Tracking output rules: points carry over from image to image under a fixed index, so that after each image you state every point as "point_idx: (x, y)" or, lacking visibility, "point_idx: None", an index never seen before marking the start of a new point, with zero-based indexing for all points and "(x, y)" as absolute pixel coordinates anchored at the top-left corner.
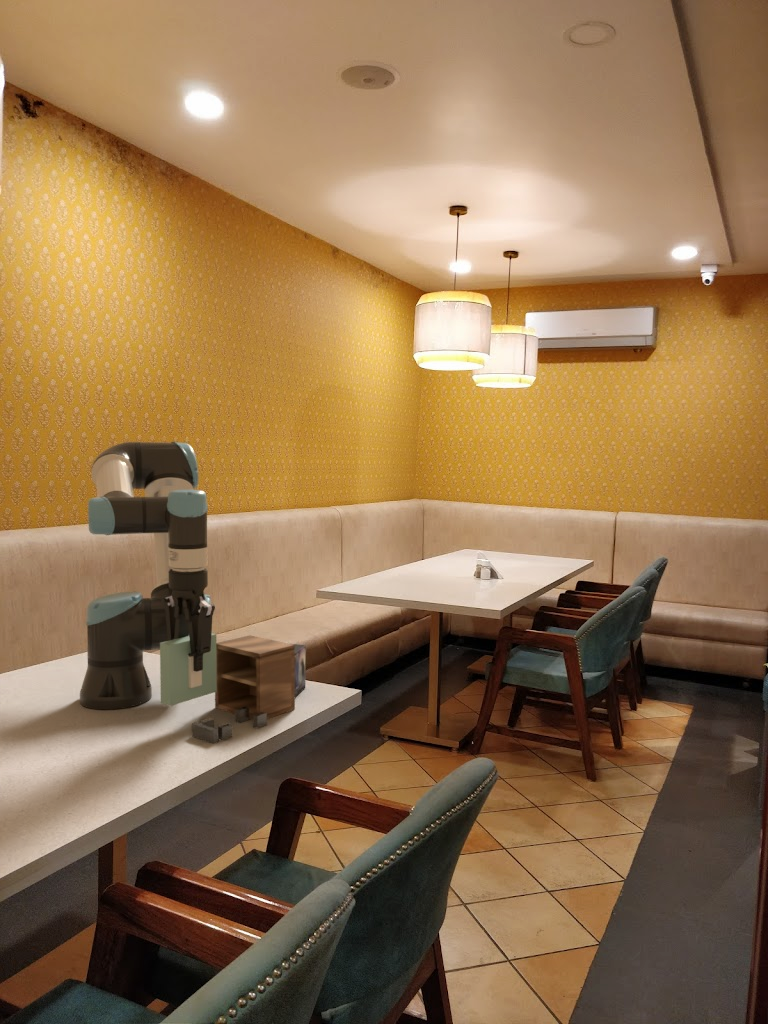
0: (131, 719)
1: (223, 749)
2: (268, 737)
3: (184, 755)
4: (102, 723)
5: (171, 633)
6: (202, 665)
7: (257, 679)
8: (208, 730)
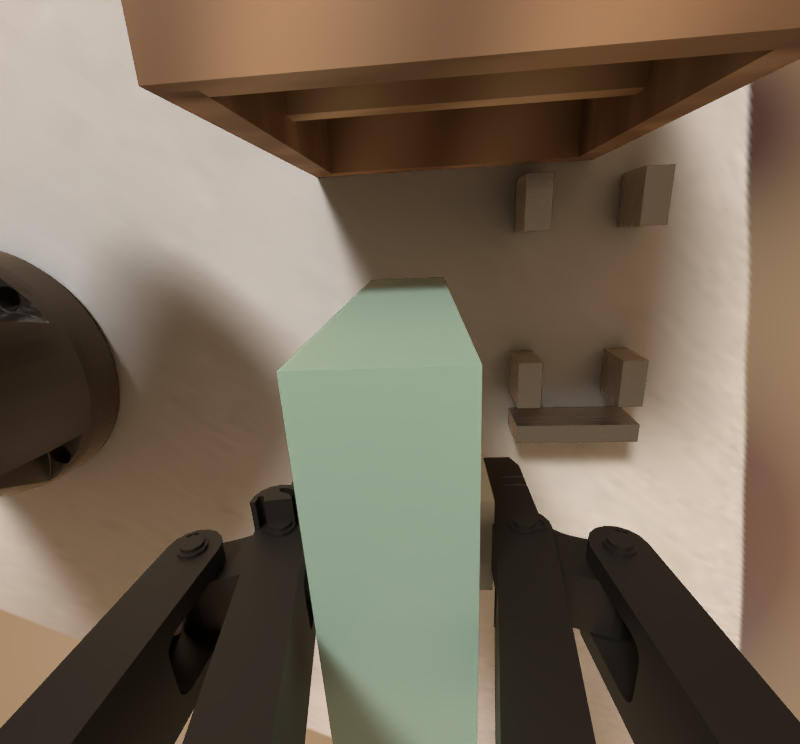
0: (233, 447)
1: (678, 431)
2: (743, 262)
3: (611, 521)
4: (213, 513)
5: (181, 716)
6: (523, 479)
7: (670, 110)
8: (605, 439)
